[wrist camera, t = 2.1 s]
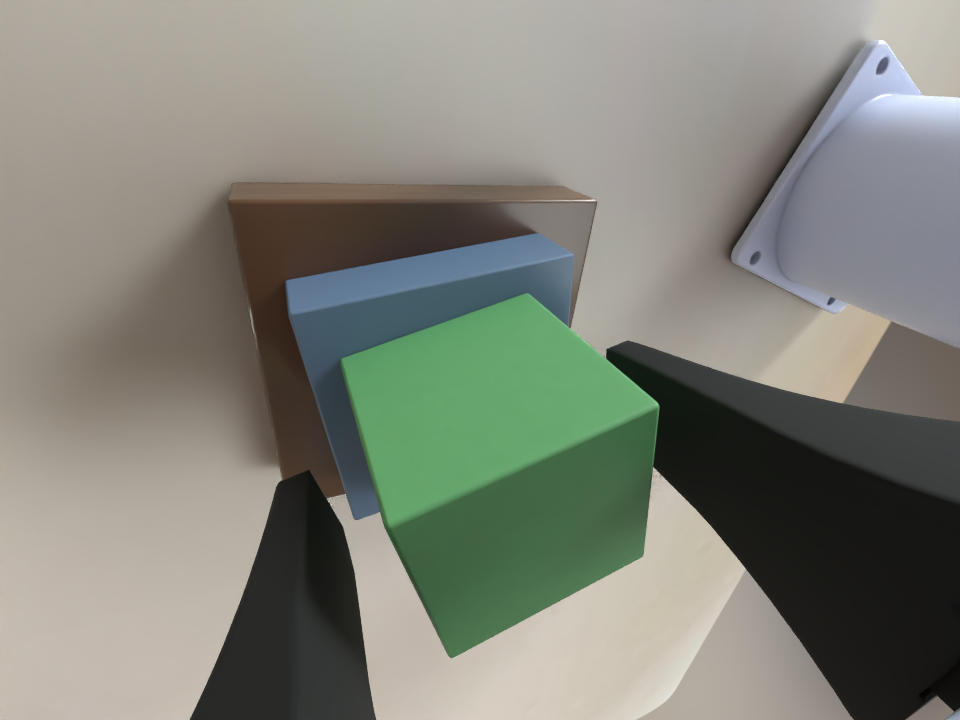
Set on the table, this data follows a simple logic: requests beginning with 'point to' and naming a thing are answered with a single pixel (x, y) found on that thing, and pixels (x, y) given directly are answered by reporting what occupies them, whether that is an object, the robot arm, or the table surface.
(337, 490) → the base slab
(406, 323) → the middle block
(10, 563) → the table surface
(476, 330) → the green cube
